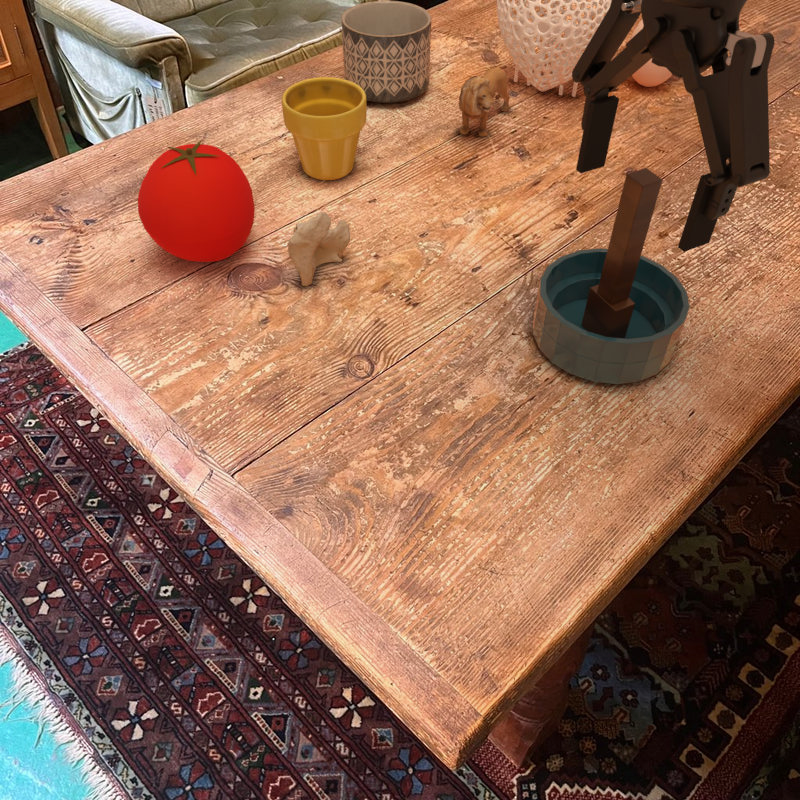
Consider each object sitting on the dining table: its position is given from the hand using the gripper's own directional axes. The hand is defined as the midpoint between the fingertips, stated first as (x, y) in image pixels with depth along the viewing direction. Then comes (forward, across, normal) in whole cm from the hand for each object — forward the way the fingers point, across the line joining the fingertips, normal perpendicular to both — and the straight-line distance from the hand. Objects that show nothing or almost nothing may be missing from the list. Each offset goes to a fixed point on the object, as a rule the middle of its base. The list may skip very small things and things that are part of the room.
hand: (638, 204), depth 67 cm
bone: (+16, -25, -21) cm, 37 cm away
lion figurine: (+16, -43, +13) cm, 48 cm away
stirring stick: (+15, 0, 0) cm, 15 cm away
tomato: (+16, -33, -31) cm, 48 cm away
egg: (+16, -42, +42) cm, 62 cm away
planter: (+16, -59, +6) cm, 62 cm away
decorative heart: (+16, -48, +27) cm, 58 cm away
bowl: (+16, 0, 0) cm, 16 cm away
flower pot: (+16, -43, -11) cm, 47 cm away
